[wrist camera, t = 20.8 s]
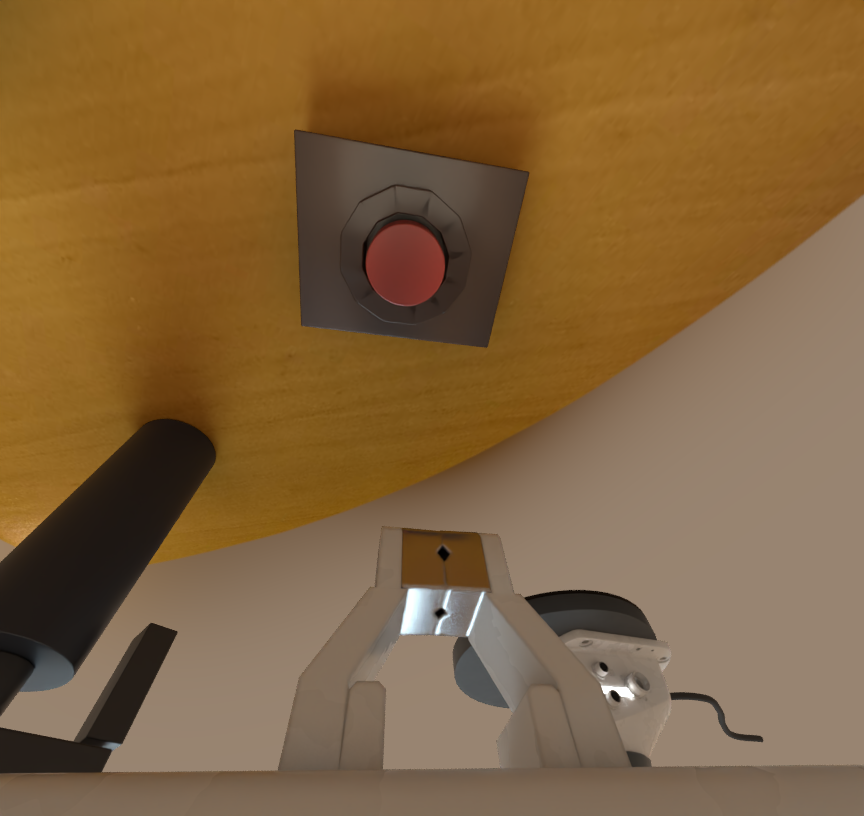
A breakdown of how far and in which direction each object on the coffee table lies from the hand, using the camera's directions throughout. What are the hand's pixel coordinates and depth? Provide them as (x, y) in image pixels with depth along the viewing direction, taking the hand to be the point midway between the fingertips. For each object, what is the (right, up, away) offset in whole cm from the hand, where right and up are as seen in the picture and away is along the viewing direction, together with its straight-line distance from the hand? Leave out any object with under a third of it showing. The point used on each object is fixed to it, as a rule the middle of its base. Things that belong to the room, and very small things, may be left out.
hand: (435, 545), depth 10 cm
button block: (-2, +14, +14) cm, 20 cm away
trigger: (-17, -10, +13) cm, 23 cm away
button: (-2, +12, +11) cm, 16 cm away
